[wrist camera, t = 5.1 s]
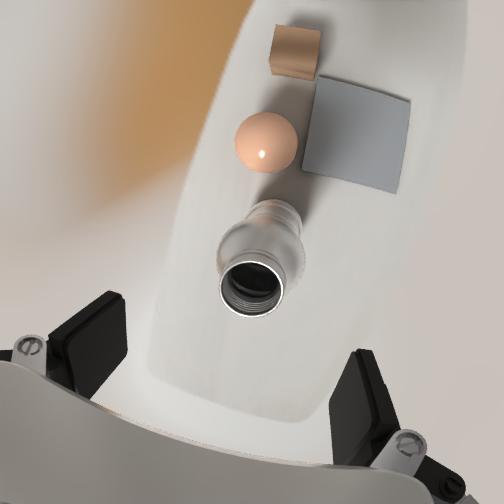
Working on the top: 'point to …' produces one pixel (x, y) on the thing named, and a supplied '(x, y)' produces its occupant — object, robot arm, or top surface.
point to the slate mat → (356, 135)
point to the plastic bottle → (261, 259)
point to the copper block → (294, 52)
